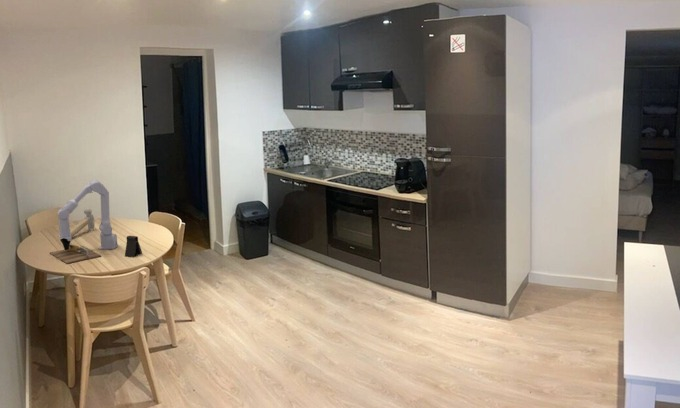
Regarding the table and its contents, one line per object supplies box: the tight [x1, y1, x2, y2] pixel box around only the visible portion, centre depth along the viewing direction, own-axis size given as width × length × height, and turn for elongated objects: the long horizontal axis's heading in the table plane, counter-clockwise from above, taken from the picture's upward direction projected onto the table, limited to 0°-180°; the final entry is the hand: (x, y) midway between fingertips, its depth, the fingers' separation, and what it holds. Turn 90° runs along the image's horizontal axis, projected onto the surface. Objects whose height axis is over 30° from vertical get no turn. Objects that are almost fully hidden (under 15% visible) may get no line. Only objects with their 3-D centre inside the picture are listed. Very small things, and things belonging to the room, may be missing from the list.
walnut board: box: [49, 245, 102, 265], centre depth 333 cm, size 28×20×1 cm
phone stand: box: [124, 235, 143, 258], centre depth 334 cm, size 9×6×12 cm, turn 164°
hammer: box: [70, 207, 95, 238], centre depth 376 cm, size 16×5×30 cm
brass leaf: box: [68, 243, 83, 252], centre depth 337 cm, size 13×2×4 cm, turn 65°
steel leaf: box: [78, 247, 89, 257], centre depth 331 cm, size 13×2×4 cm, turn 46°
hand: (66, 249), depth 337 cm, fingers closed
